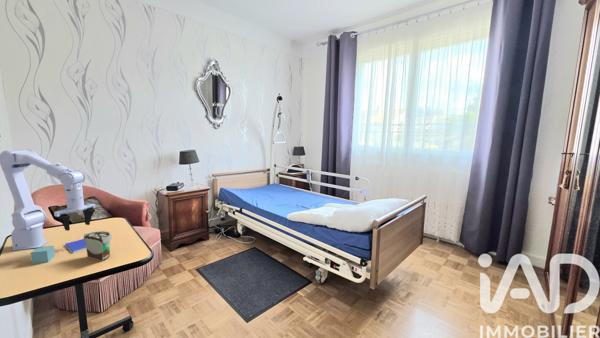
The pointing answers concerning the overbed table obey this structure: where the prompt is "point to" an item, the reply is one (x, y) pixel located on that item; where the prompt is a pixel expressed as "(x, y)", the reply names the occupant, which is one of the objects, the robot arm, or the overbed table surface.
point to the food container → (98, 245)
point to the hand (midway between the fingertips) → (77, 227)
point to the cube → (42, 254)
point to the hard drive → (76, 246)
